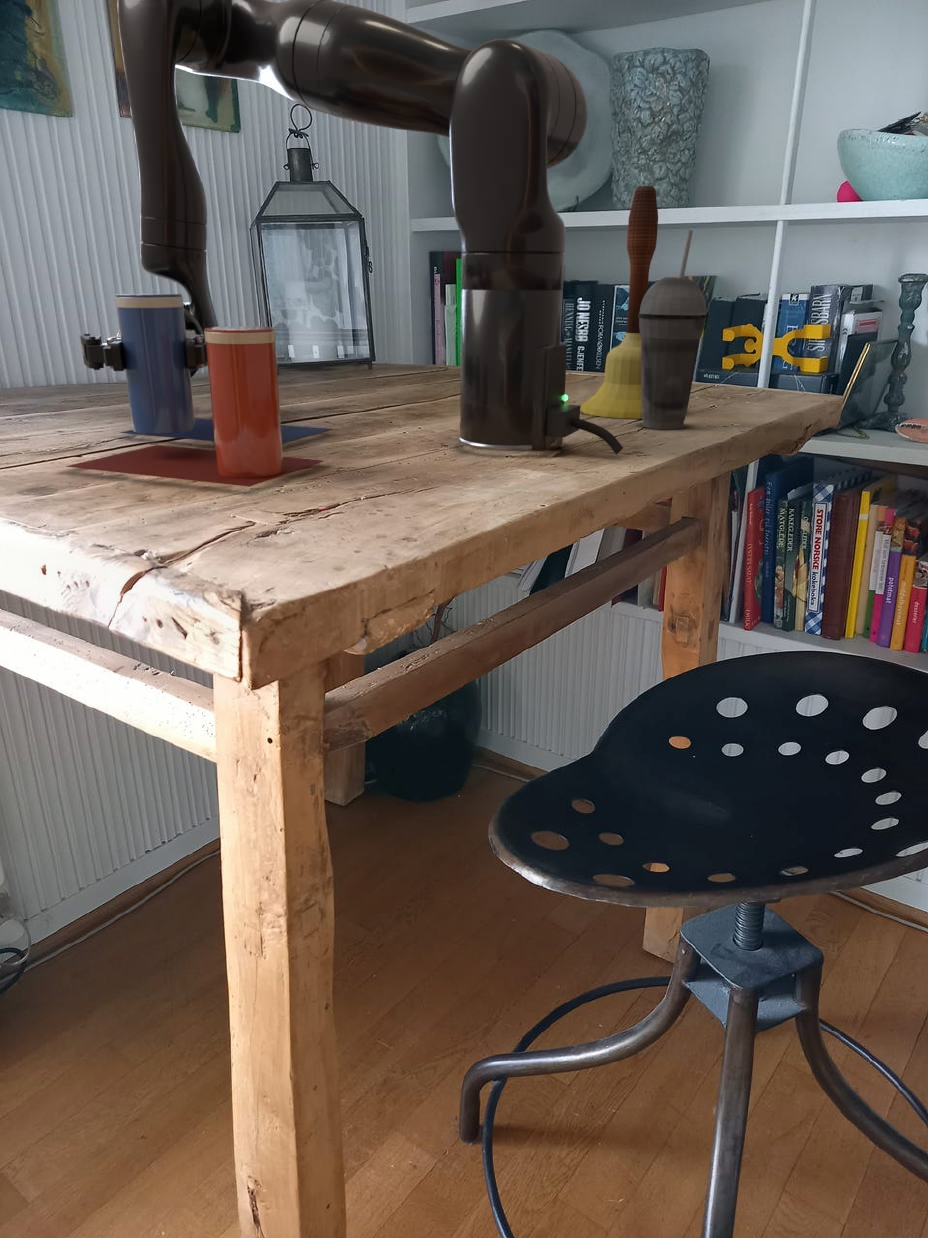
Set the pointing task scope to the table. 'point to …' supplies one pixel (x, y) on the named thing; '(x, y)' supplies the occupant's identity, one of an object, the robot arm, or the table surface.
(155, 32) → the robot arm
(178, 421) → the blue tumbler
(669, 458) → the table surface
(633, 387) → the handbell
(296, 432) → the blue mat
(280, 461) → the cylinder
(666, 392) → the beverage cup
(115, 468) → the red mat
